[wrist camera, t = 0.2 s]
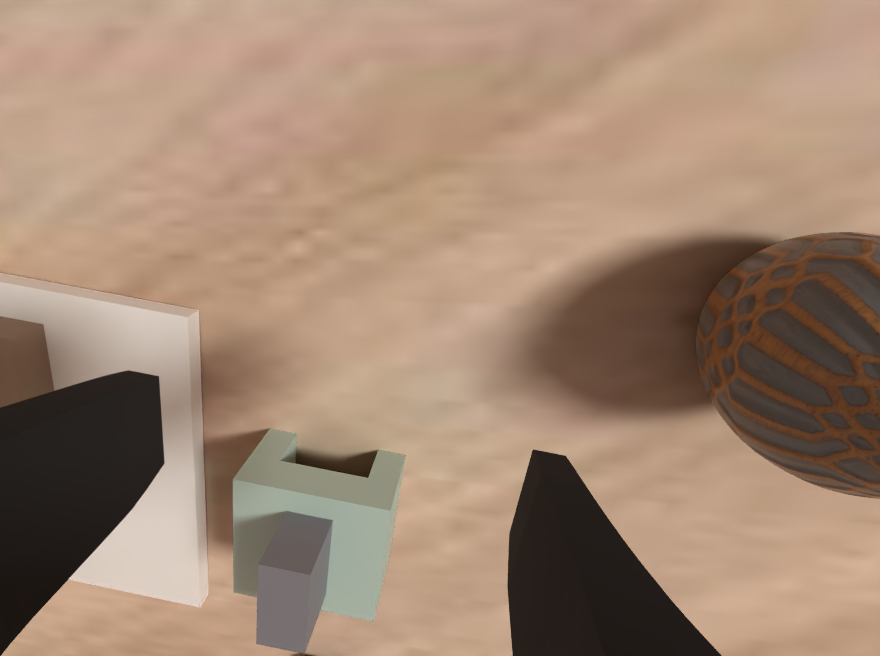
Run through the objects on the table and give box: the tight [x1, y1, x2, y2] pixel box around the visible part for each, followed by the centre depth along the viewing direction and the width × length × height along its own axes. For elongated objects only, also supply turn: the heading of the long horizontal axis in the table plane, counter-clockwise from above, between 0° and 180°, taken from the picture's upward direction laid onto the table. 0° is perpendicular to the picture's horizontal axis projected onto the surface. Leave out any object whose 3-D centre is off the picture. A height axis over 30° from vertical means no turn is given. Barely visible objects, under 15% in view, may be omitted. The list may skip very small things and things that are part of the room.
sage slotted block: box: [233, 429, 406, 654], centre depth 20 cm, size 6×6×6 cm
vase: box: [696, 232, 880, 499], centre depth 14 cm, size 7×7×9 cm
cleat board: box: [0, 273, 209, 607], centre depth 22 cm, size 16×14×2 cm
